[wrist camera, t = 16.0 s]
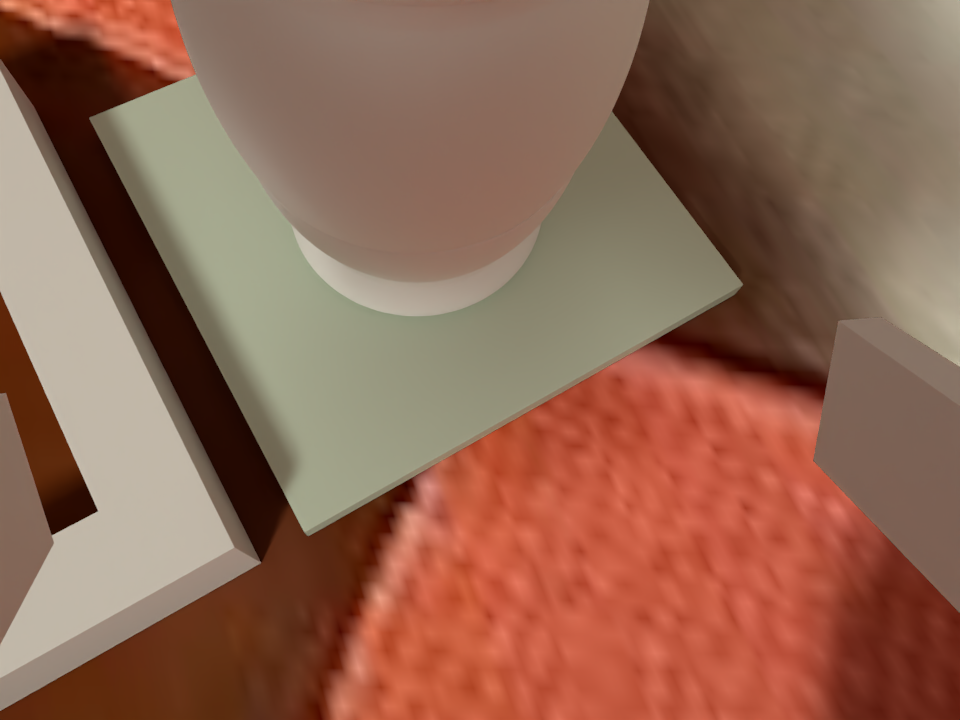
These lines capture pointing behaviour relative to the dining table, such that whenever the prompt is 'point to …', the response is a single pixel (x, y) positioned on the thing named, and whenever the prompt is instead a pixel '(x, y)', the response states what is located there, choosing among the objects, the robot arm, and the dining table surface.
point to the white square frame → (99, 431)
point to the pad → (394, 338)
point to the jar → (413, 127)
